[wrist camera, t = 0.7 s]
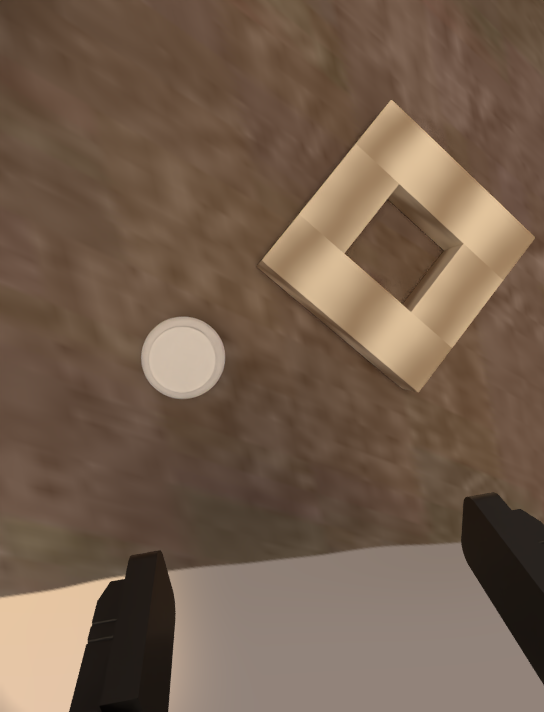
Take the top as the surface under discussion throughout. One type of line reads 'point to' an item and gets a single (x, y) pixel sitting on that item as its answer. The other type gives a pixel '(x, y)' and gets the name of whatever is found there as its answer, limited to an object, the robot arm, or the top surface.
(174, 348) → the supplement bottle
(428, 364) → the light wooden square frame
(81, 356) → the top surface
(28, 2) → the top surface
